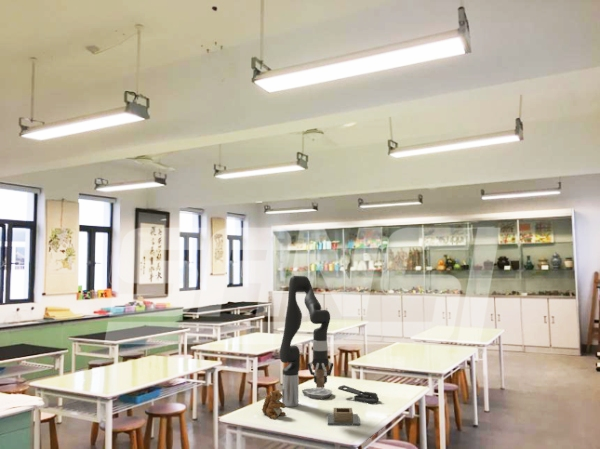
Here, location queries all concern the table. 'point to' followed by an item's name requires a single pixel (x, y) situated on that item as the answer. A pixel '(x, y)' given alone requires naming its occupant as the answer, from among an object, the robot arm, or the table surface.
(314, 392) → the brain slice
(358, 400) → the zipper pull
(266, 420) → the table surface
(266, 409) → the stuffed squirrel
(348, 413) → the well stand
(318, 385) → the walnut bar
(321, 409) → the table surface
